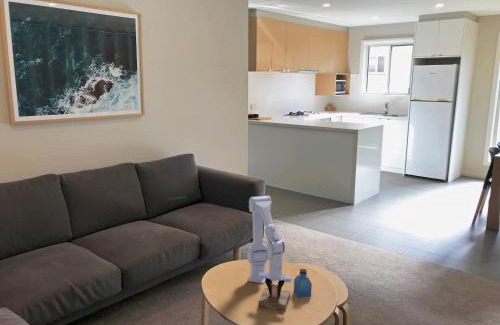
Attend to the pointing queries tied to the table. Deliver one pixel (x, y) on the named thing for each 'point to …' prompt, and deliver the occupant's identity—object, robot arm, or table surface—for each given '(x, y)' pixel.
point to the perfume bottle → (302, 284)
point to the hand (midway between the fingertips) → (274, 294)
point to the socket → (274, 300)
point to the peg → (274, 291)
